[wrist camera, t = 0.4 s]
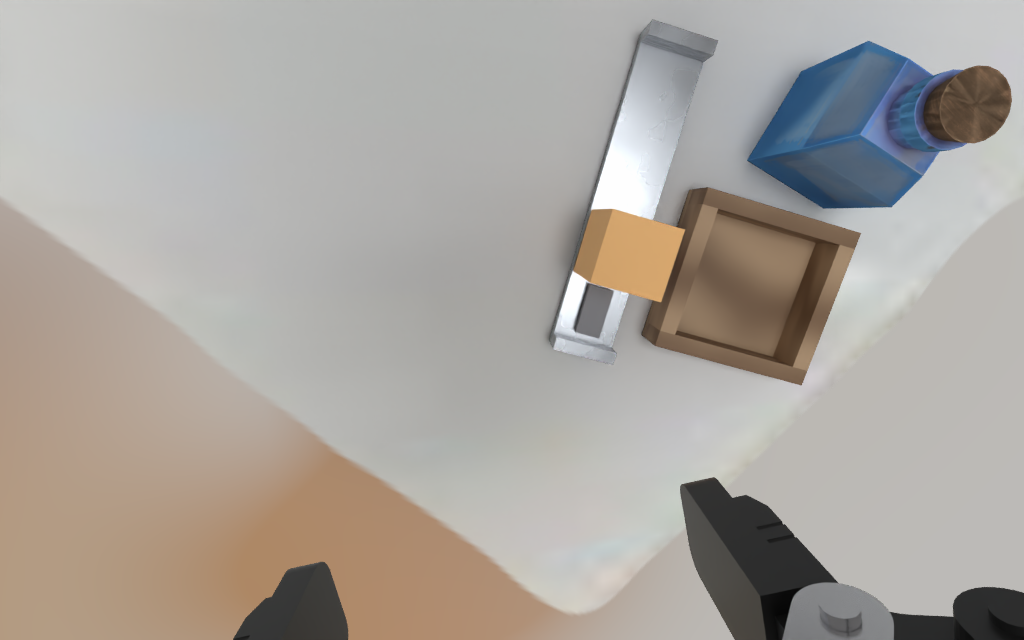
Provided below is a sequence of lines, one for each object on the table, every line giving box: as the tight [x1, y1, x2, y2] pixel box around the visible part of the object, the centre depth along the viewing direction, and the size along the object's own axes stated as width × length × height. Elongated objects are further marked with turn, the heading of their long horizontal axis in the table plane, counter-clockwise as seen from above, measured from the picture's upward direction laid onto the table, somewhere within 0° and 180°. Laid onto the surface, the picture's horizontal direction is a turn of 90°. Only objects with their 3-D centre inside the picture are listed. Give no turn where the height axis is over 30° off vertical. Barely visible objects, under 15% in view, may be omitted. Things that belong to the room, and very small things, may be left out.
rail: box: [549, 20, 718, 365], centre depth 34 cm, size 20×4×2 cm, turn 164°
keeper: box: [642, 188, 861, 385], centre depth 35 cm, size 10×10×3 cm
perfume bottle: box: [747, 41, 1012, 208], centre depth 29 cm, size 6×6×12 cm
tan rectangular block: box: [573, 209, 685, 338], centre depth 32 cm, size 8×4×6 cm, turn 164°
